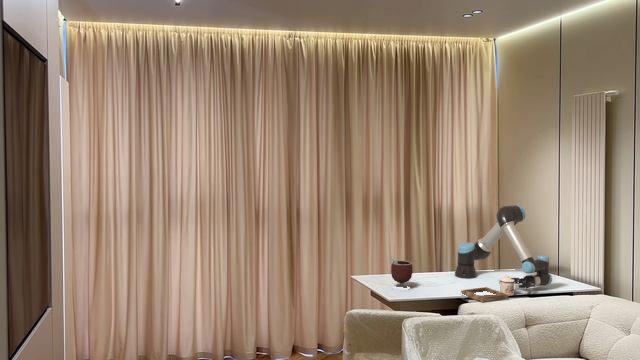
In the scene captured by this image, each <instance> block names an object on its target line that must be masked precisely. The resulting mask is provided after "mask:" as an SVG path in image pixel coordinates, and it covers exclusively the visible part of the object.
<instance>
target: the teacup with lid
mask: <svg viewBox="0 0 640 360" xmlns="http://www.w3.org/2000/svg"><path fill="white" fill-rule="evenodd" d="M511 278H512V277H510V275H505V277H501V278H500V279H499V280H500V284H499V292H502V293H505V294H508V297H509V296H514V294H515V289H514V284H517V283H516V282H515V281H514V280H513V279H511Z"/></svg>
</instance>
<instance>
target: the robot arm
mask: <svg viewBox="0 0 640 360" xmlns="http://www.w3.org/2000/svg"><path fill="white" fill-rule="evenodd" d="M525 219H526V210H525V209H524V207H523V206H522V205H518V204H513V205H504V206H502V207H500V208H498V210H497V212H496V221H497V222H496V223H495V224H494V225H493V226H492V227H491V229H490V230H488V232H487V233H486V234H485V235H484V236H483V237H481V238H479V239H478V240H476V241H475V243H473V242H463V243H459V244H458V246H457V266H456V269H455V271H454V276H455V277H456V278H461V279H475V278H477V271H476V267H475V261H479V260H485V259H487V258H488V257H489V256H490V255H491V251H492V247H493V246H494V245H495V244H496V243H497V242H498V241H499V240H500V239H501V237H502V236H504V234H505V235H506V237H507V238H508V241H509V242H510V244H511V246H512V248H513V249H514V251H515V254H517V257H518V258H519V260H520V262H521V270H522V272H523V273H525V274H527V275H525V276H523V278H520V277H510V278H511V279H513V280H514V281H515V282H516V283H517V284H515V283H514V290H517V289H526V290H527V289H530V288H535V287H539V286H548V285H550V284H552V282H553V277H552V275H551V273H549V272H550V258H549V256H548V255H543V254H541V255H537V257H536V260H535V259H534V257H533V256H532V254H531V253H530V250H529V248H528V246H527V245H526V243H525V242H524V240H523V238H522V236H521V235H520V233H519V232H518V231H519V230H517V227H516V226H517V224H518V223H521V222H523V221H524V220H525ZM533 273H535V274H533ZM497 284H498V285H500V279H498V283H497Z"/></svg>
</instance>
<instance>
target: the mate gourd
mask: <svg viewBox="0 0 640 360" xmlns="http://www.w3.org/2000/svg"><path fill="white" fill-rule="evenodd" d="M390 259H392V261H391V267H390V272H391V273H390V275H391V278H392V280H394V282H397V283H398V284H396V285H397V286H396V287H403V288H407V286H408V285H406V286H404V285H405V284H404V283H408V282H409V281H410V280H411V279H412V278H413V277H412V276H413V264H412V262H411V261H408V260H396V258H394V257H393V256H390Z"/></svg>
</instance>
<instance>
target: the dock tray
mask: <svg viewBox="0 0 640 360" xmlns="http://www.w3.org/2000/svg"><path fill="white" fill-rule="evenodd" d="M483 291H487V292H490V293H493V294H496V295H484V296H479V295H476V294H474V293H476V292H483ZM461 293H462V294H464V295H466V296H468V297H467V298H468V299H471V300H474V301H476V302H479V303H481V304H483V303H484V304H485V303H492V302H493V303H494V302H497V301H499V302H500V301H507V300H509V296H508V294H505V293H502V292H500V290H496V289H492V288H490V287H487V286H484V287H476V288H468V289H461V291H460V294H461Z"/></svg>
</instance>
